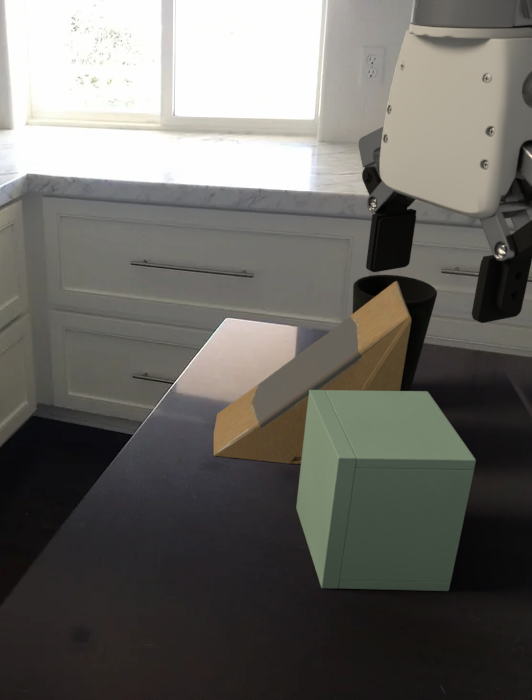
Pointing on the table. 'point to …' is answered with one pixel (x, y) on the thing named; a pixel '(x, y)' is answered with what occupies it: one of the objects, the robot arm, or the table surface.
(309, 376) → the sandwich container
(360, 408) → the bin
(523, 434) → the table surface
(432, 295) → the cup
